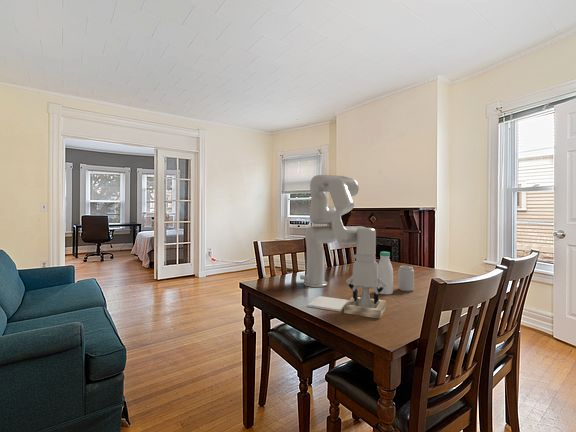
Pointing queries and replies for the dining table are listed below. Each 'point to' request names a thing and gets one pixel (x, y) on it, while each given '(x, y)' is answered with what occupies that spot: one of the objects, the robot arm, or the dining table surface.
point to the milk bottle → (385, 273)
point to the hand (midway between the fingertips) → (365, 301)
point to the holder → (365, 308)
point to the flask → (365, 298)
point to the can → (406, 278)
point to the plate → (328, 303)
